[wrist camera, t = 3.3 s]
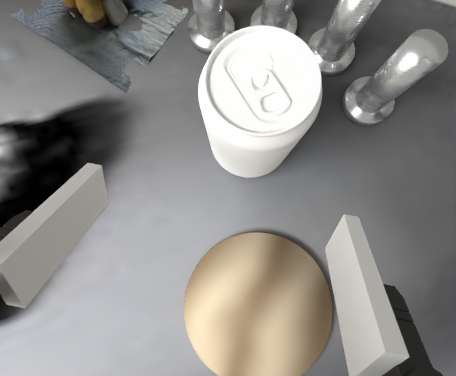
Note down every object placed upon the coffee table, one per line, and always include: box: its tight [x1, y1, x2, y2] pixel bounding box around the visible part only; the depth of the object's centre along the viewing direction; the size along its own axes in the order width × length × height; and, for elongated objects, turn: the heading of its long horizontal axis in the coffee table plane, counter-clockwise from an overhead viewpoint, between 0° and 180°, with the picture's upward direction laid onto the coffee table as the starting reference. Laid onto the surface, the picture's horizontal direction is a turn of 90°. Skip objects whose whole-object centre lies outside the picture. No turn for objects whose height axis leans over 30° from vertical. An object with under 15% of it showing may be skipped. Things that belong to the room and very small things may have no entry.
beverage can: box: [198, 25, 322, 178], centre depth 22 cm, size 8×8×12 cm
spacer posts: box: [188, 0, 448, 126], centre depth 24 cm, size 23×12×9 cm, turn 78°
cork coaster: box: [184, 232, 333, 376], centre depth 25 cm, size 14×14×1 cm
